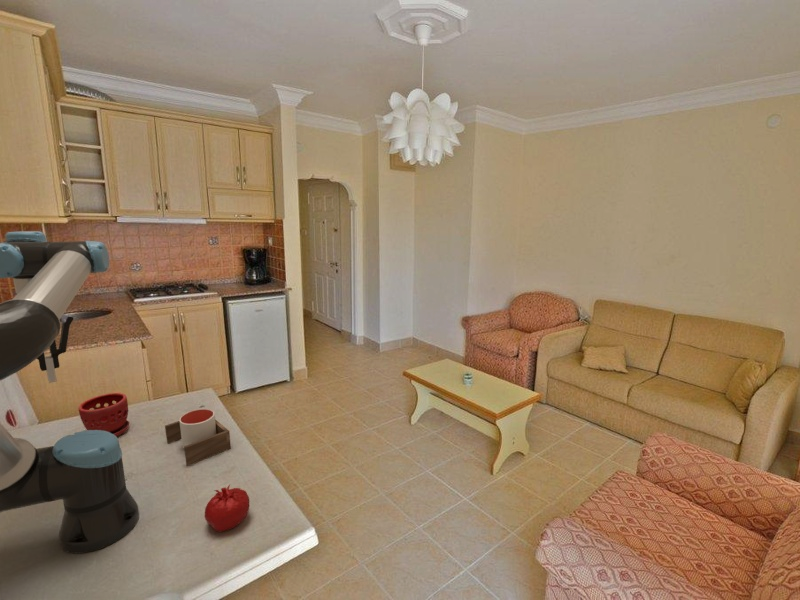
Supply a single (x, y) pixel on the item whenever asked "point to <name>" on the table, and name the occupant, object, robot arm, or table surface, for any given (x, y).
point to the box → (200, 442)
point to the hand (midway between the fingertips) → (52, 380)
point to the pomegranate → (227, 508)
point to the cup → (197, 426)
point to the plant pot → (106, 413)
